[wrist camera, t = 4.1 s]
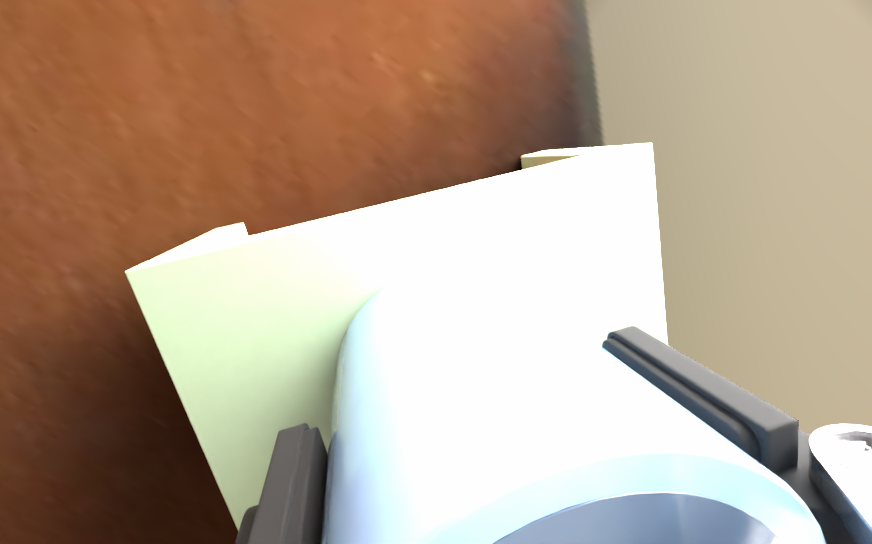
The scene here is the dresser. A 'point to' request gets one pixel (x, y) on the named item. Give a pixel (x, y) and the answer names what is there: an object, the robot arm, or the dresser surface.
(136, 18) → the dresser surface
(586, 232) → the shelf
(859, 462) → the robot arm
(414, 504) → the cup
